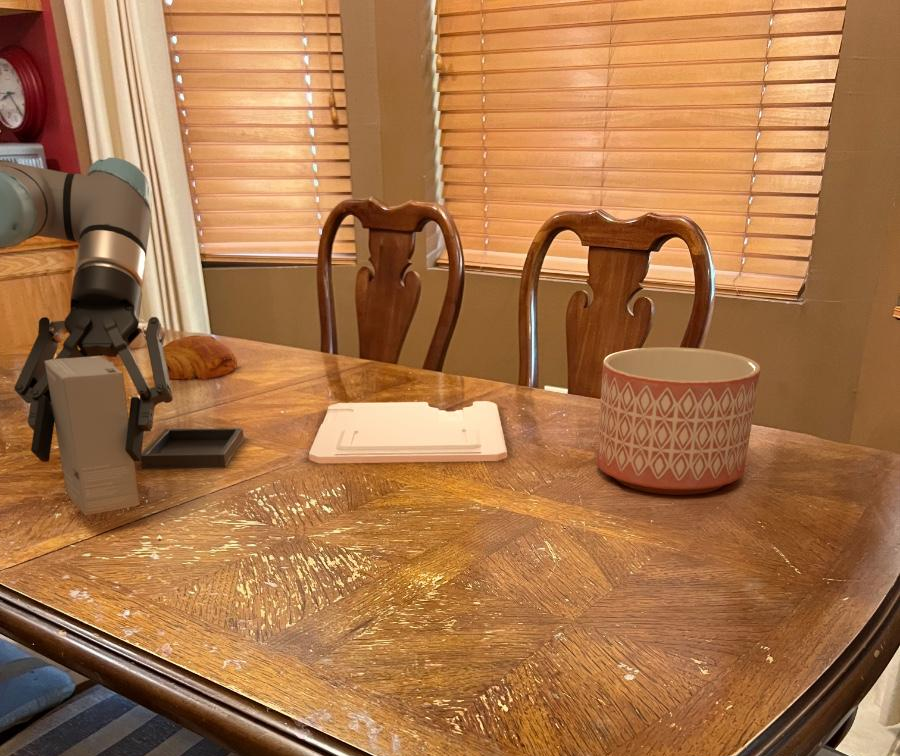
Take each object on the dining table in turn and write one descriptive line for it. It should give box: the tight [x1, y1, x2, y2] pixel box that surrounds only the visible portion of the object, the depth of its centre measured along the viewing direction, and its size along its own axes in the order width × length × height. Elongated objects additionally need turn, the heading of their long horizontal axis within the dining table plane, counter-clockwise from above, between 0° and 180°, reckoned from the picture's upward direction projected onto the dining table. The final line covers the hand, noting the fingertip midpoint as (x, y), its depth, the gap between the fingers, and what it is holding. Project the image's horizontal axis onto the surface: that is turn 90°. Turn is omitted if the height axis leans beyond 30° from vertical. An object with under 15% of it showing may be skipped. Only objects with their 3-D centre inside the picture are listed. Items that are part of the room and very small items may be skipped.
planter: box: [595, 346, 761, 496], centre depth 112 cm, size 19×19×15 cm
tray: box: [308, 400, 508, 464], centre depth 132 cm, size 28×28×2 cm
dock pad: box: [140, 427, 245, 470], centre depth 124 cm, size 12×13×2 cm
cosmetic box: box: [44, 356, 141, 516], centre depth 96 cm, size 8×7×16 cm
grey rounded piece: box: [129, 317, 147, 350], centre depth 190 cm, size 8×8×7 cm
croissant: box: [163, 335, 238, 381], centre depth 168 cm, size 14×16×8 cm
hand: (86, 456), depth 94 cm, fingers closed on cosmetic box, 9 cm apart
